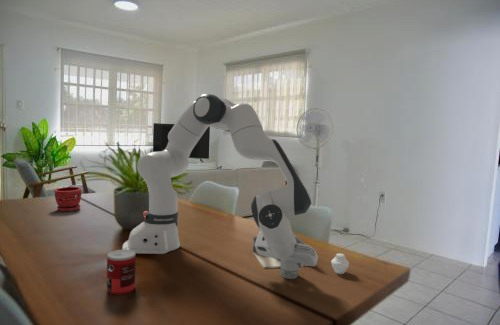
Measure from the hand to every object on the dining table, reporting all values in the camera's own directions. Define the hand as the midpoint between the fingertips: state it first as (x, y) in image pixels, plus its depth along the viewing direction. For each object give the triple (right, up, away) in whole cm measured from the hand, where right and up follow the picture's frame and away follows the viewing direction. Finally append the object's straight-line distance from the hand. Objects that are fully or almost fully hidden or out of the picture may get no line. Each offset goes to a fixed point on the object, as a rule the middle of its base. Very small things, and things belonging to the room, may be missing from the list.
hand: (290, 262), depth 119 cm
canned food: (-52, -4, -15) cm, 55 cm away
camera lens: (0, -5, 0) cm, 5 cm away
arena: (-2, -3, +15) cm, 15 cm away
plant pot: (-115, +8, +75) cm, 138 cm away
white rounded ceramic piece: (+18, -5, +5) cm, 19 cm away
